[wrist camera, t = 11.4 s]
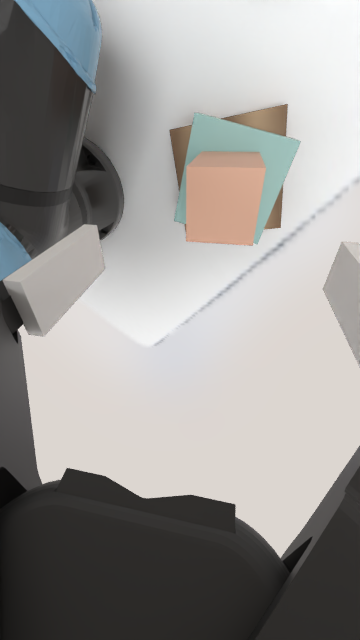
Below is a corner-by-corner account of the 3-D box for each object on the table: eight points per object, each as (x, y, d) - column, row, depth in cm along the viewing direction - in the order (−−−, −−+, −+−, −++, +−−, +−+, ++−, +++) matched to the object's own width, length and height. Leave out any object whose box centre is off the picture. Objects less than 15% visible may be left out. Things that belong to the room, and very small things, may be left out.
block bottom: (190, 228, 41) (186, 237, 38) (176, 128, 34) (169, 129, 30) (277, 218, 38) (280, 227, 35) (282, 105, 30) (287, 104, 27)
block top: (179, 211, 36) (174, 220, 33) (199, 113, 29) (194, 112, 26) (256, 233, 36) (257, 244, 33) (294, 138, 29) (300, 141, 26)
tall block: (199, 209, 31) (186, 241, 24) (201, 151, 28) (186, 166, 20) (250, 212, 31) (252, 245, 23) (259, 151, 27) (266, 167, 19)
